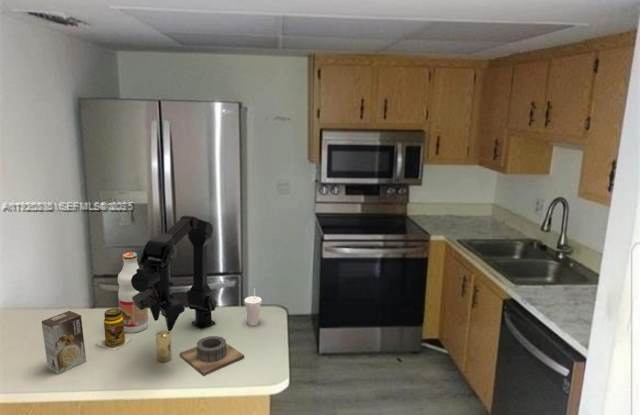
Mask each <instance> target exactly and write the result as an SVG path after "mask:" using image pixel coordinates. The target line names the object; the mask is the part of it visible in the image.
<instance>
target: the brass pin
mask: <svg viewBox="0 0 640 415" xmlns="http://www.w3.org/2000/svg"><path fill="white" fill-rule="evenodd" d="M155 342H156V343H155V344H156V359H157V360H156V361H157V362H158V363H160V364H165V363H168V362H171V361H172V357H173V356H172V338H171V331H168V330H167V329H166V330H159V331H157V332H156V333H155Z"/></svg>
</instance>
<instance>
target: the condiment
mask: <svg viewBox="0 0 640 415" xmlns="http://www.w3.org/2000/svg"><path fill="white" fill-rule="evenodd" d="M103 314H104V319H103V325H104V338H105V339H103V340H101V341H100V342H99V343H97V344H96V346H97V347H102V348H106V349H110V350H115V351H116V350H118V349H119V348H121V347H123V346H124V345H126V344H128V342H130V341H131V339H132V338H126V336H125V335H126V334H125V333H126V332H124V321H123V317H122V313H121V310H120V309H119V307H118V308H117V307H116V308H115V307H114V308H109V309H106V310H105V311H104V313H103Z"/></svg>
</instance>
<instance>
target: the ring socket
mask: <svg viewBox="0 0 640 415" xmlns="http://www.w3.org/2000/svg"><path fill="white" fill-rule="evenodd" d="M179 357H180V358H182V359H183V360H184V361H185V362H186V363H188V364H189V365H190V366H191V367H192V368H194V369H195V370H196V371H197V372H199V373H200V374H201V375H203V376H206V375H209V374H211V373H213V372H215V371H218V370H220V369H223V368H225V367H228V366H229V365H232V364H234V363H237V362H239V361H240V360H244V359H245V354H243V353H241V352H240V351H239V350H237V349H236V348H235V347H233V346H232V345H230V344H229V343H227V341H226V339H225V338H224V337H223V336H217V335H211V336H210V335H209V336H205V337H202V338H201V339H199V340H198V341H197V342H196V346H194V347H191V348H189V349H186V350H185V351H181V352H179Z"/></svg>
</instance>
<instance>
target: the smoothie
mask: <svg viewBox="0 0 640 415" xmlns="http://www.w3.org/2000/svg"><path fill="white" fill-rule="evenodd" d="M262 300H263V299H262V298H261V297H260V296H256V288H253V296H252V295H251V296H247V297H246V298H245V299H244V304H245V310H246V318H247V324H248V325H249V326H251V327H255V326H258V325H259V321H260V320H259V318H260V312H261V304H262V303H263V301H262Z"/></svg>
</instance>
